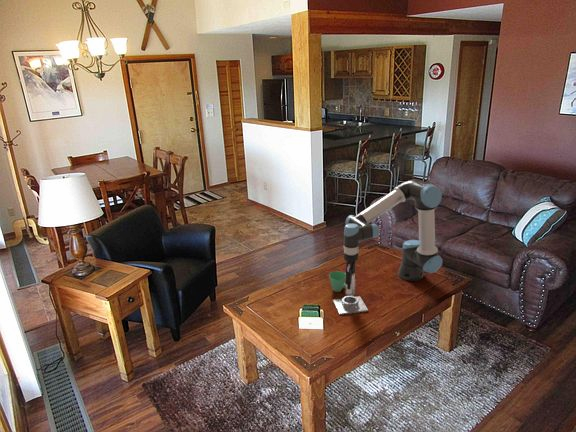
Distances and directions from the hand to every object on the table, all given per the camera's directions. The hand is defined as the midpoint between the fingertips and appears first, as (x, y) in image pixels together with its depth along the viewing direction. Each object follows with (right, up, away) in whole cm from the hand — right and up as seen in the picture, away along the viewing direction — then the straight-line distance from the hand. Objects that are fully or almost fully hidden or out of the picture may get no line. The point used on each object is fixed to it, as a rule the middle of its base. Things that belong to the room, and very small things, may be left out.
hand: (350, 290), depth 220 cm
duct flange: (0, -9, +4) cm, 10 cm away
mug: (-2, -3, +21) cm, 22 cm away
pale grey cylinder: (0, -2, +1) cm, 2 cm away
